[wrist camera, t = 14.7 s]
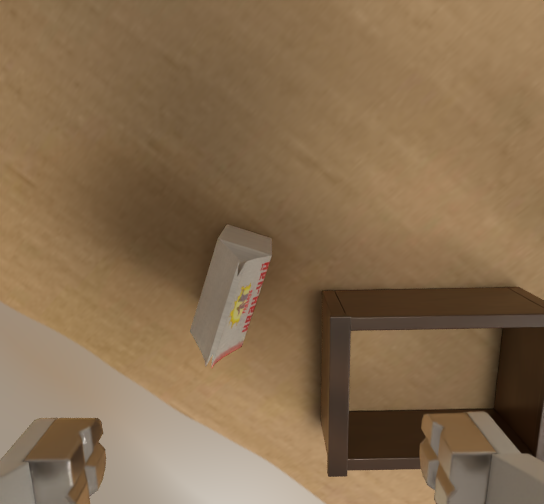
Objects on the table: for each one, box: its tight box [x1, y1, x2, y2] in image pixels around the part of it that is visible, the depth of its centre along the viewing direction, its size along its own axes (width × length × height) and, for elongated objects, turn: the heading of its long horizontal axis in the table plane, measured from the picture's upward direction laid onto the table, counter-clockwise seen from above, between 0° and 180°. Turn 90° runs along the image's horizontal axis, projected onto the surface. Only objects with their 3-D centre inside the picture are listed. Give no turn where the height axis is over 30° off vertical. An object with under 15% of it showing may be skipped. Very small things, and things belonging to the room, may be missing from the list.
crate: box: [321, 287, 544, 477], centre depth 33 cm, size 12×16×6 cm
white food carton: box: [190, 224, 272, 368], centre depth 30 cm, size 4×7×10 cm, turn 162°
